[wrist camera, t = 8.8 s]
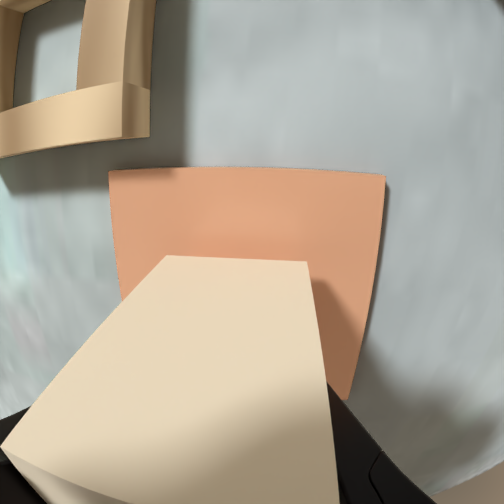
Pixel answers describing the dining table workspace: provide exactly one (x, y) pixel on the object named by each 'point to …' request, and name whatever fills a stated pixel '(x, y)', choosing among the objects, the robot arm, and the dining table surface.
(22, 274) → the dining table surface
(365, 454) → the robot arm
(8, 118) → the birch pocket holder
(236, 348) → the cream block
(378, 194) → the terracotta coaster
